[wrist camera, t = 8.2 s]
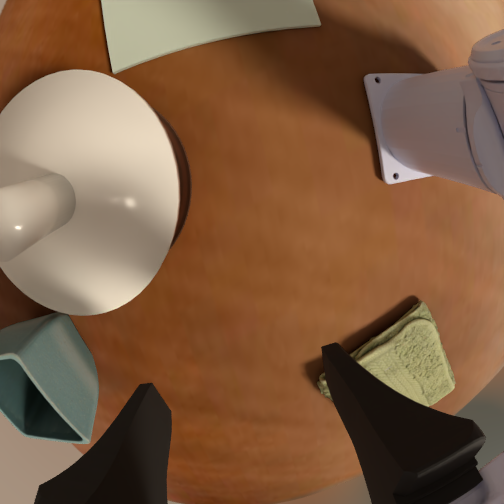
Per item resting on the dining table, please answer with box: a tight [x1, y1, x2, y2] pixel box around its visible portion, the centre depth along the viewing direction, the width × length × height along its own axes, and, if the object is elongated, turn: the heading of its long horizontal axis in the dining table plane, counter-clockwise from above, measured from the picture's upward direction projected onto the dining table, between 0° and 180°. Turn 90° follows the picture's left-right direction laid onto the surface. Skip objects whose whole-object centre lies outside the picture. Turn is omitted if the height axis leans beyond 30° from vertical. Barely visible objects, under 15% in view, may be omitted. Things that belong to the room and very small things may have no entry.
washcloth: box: [317, 300, 455, 407], centre depth 26 cm, size 13×18×3 cm
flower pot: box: [0, 312, 99, 444], centre depth 17 cm, size 9×9×9 cm
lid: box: [0, 70, 180, 316], centre depth 10 cm, size 12×12×5 cm
